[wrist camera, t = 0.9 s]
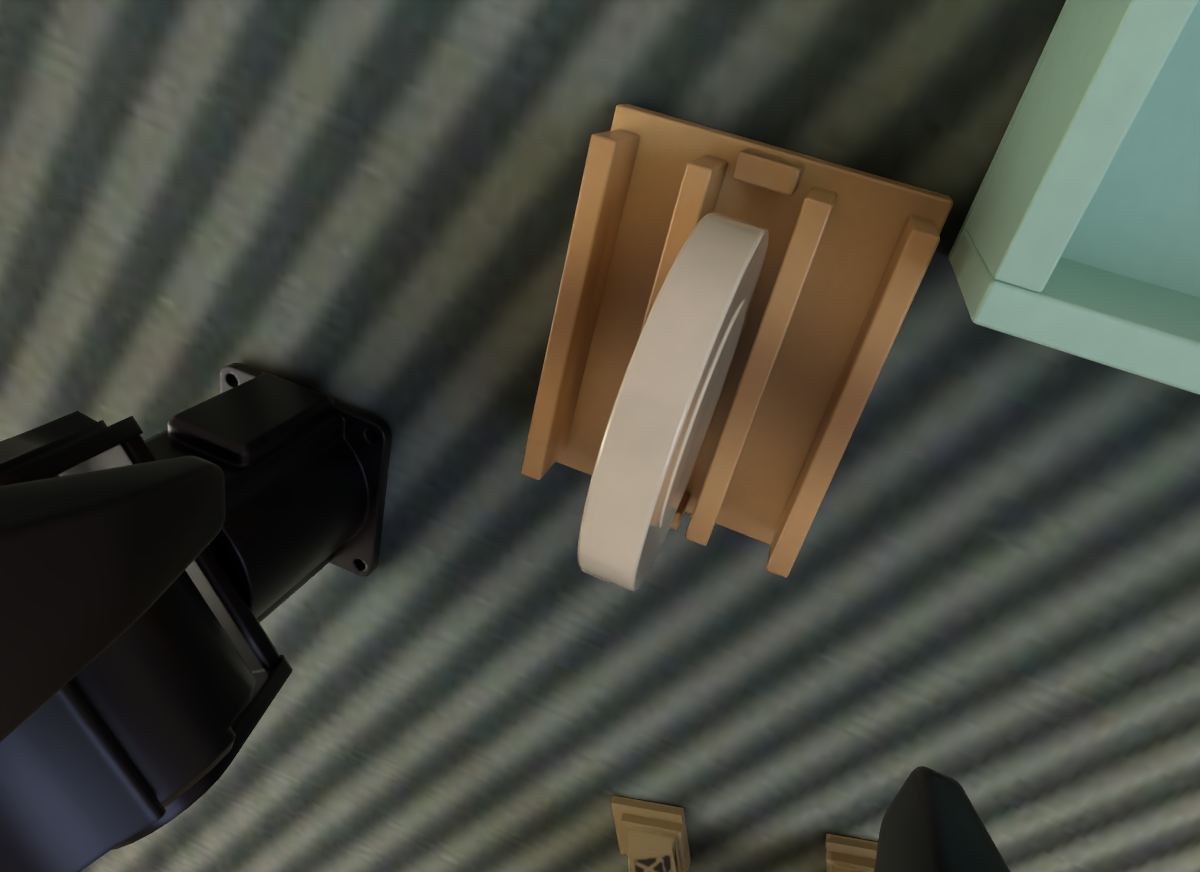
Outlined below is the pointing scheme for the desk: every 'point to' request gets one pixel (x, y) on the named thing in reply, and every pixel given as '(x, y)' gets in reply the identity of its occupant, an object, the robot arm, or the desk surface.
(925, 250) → the dish rack
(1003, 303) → the mint green open box
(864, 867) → the eiffel tower
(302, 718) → the desk surface
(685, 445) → the plate
